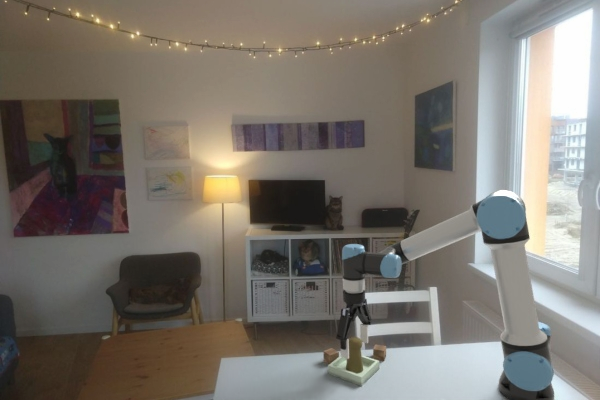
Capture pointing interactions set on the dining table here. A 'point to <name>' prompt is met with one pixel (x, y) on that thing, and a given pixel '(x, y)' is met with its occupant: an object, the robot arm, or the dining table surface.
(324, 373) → the dining table surface
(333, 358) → the walnut cube
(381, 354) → the walnut cube
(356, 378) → the tray
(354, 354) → the olive tall rounded piece
